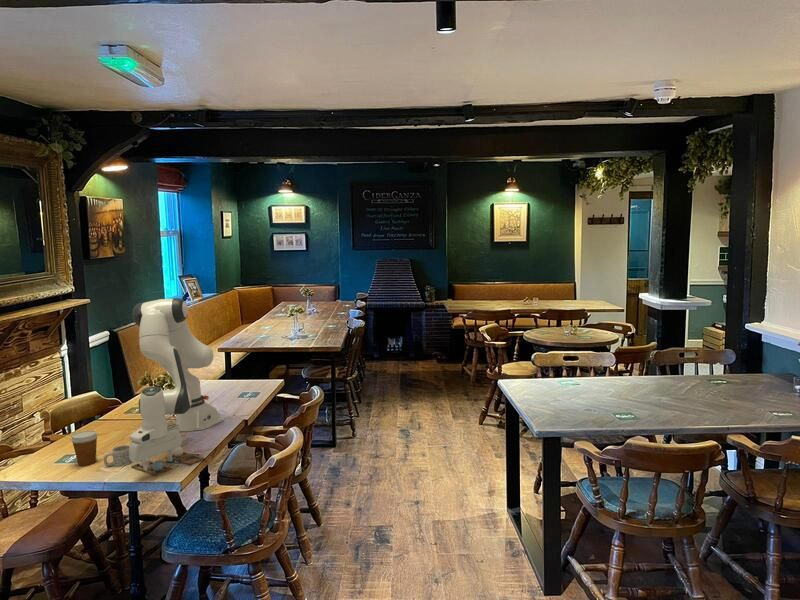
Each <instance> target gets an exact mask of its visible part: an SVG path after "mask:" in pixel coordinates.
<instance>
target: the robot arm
mask: <svg viewBox="0 0 800 600" xmlns="http://www.w3.org/2000/svg"><path fill="white" fill-rule="evenodd" d="M188 308H189V307H188V305H187V303H186V301H185V300H184V299H182V298H179V297H174V298H161V299H159V298H158V299H155V300H151V301H146V302H145V301H144V302H140V303H137V304H135V306H133V309H132V318H133V322H134V324H135V325H136V326H138V327H139V330H138V331H139V332H138V342H139V350H140V353H141V354H142V355H143V356H144V357H146V359H149V360H151V361H154V362H157V363H158V365H159V366H160V367H161V368H163V369H164V370H165V371H166V372H167V373H168V374H169V375H170V378H171V379H172V381H173V384H174V385H173V386H174V388H172V389H165V390H164V389H162V387H160V386H148V387H145V388H144V389H142V390H141V391H140V398H139V399H138V413H139V414H140V416H141V418H142V419H141V426H140V427H138V429H136V431H135V430H134V432H132V433H131V434H130V435H129V440H130V441H131V442H130V443H129V458H130V460H131V461H132V463H135V464H138V463H139V462H140V463H141V464H142V465H143V468H144V470H145V471H147V470H149V469H150V468H149V467H150V465H148V464H146V463H145V462H146V459H148V458H149V459H150V458H153V457H157V456H159V455H162V454H164V453H167V452H168V453H167V455H168V456H167V455H166V456H167V457H166V456H165V461H166V462H168V463H169V462H172V461H173V460H172V455H173V453H174V449H175V448H178V447H181V446H182V443H183V439H182V435H181V432H193V431H204V430H206V429H208V428H211V427H213V426H214V425H218V424H219V423H221V422H223V421H224V417H223V416H221V415H219V413H218V409H217V408H216V407H215V406H213V405H212V404H209V403H207V402H206V401H208V400H209V398H210V397H209V396H210V395H202V391H201V388H202V387H201V381H200V379H199V378H198V377H197V376H196V375H195V374H192V373H191V372H190V371H189V369H203V368H207V367H210V365H211V364H212V363H213V361H214V358H215V357H214V352H213V349H212V347H210V346H209V345H207V344H204V343H203V342H201V341H200V340H198V338H196V337H195V336H194V335H193V332H192V331H191V330H190V326H189V325H188V322H187V320H186V319H188V316H189V309H188ZM205 400H206V401H205ZM168 415H176V419H175V423H172V424H170V425H168V421H167V417H166V416H168Z"/></svg>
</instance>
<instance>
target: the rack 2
mask: <svg viewBox="0 0 800 600" xmlns="http://www.w3.org/2000/svg"><path fill="white" fill-rule="evenodd" d="M167 456H168V454H167V455H165V458H166V457H167ZM205 460H206V457H203V456H201V455H197V454H193V453H190V452H187V451H184V450H183V454H182V455H181V456H180V457H176V456H174V455H172V461H174V462H177V463H180V464H184V465H187V466H193V465H196V464H198V463H201V462H203V461H205Z"/></svg>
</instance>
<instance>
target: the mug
mask: <svg viewBox="0 0 800 600" xmlns="http://www.w3.org/2000/svg"><path fill="white" fill-rule="evenodd" d="M129 445H130V444H129ZM129 445H119V446H115V447H114V448H112V450H111V451H110V452H108V453H106V454H105V455H104V456H103V462H104V463H103V464H104V466H105V467H113V466H114V467H124V466H127V465H130V464H132V463H133V462H132V461H131V460H130V458H129ZM110 456H111V457H112V458H113V459H112V462H110V463H109V462H108V460H107V459H108V457H110Z"/></svg>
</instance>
